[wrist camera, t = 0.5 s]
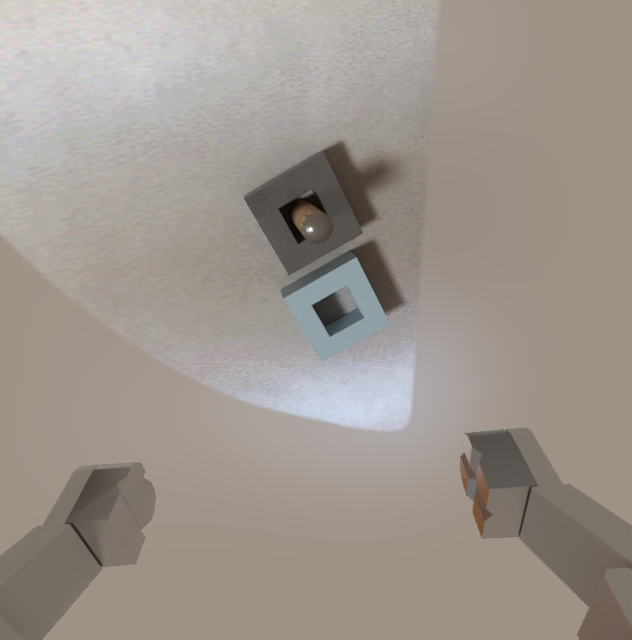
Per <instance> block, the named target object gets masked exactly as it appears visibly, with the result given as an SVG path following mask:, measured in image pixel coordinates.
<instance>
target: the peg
mask: <svg viewBox="0 0 632 640" xmlns="http://www.w3.org/2000/svg"><path fill="white" fill-rule="evenodd" d="M290 217H291V219H292V221H293V222H294V224H295V225H296V226H297V228H298V229H299V230H300V232H301V233H302V234H303V236H304V237H305V238H306V239H307V240H308V241H309V242H311V243H314V244H320V243H323V242H325V241H326V240H328V239H329V237H330V236H331V234H332V231H333V224H332V221H331V219H330V218H329V217H328V216H327V215H326V214H324V213H323V212H322V211H320V210H319V209H318V208H316V207H315V206H314V205H312V204H311V203H309V202H308V201H305V200H300V201H297V202H295V203H294V204H293V205H292V207H291V209H290Z"/></svg>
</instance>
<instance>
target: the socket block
mask: <svg viewBox="0 0 632 640" xmlns="http://www.w3.org/2000/svg"><path fill="white" fill-rule="evenodd" d="M311 189H312V191H313V193H314V195H315V196H316V198H317V200H318V202H319V204H320V206H321V208H322V210H323V212H324V214H326V215H327V216H328V217H329V218H330V219H331V221H332V224H333V231H332V234H331V236H330V237H329V239H328V240H326V241H325V242H323V243H320V244H314V243H311V242H309V241H308V240H307V239H306V238H305V237H304V236H303V235H302V236H300V237H298V238H297V239H295V238H294V236H293V234H292V233H291V231H290V229H289V227H288V225H287V224H286V222H285V220H284V218H283V217H282V215H281V213H280V211H279V209H278V208H280V207H282V206H283V205H285V204H287V203H289V202H290V201H292V200H294V199H296V198H297V197H299V196H301V195H302V194H304V193H306V192H308V191H309V190H311ZM244 199H245V201H246V203H247V204H248V206H249V208H250V209H251V211H252V213H253V215H254V216H255V218H256V220H257V221H258V223H259V225H260V227H261V228H262V230H263V232H264V233H265V235H266V237H267V238H268V240H269V242H270V244H271V245H272V247H273V249H274V250H275V252H276V254H277V255H278V257H279V259H280V261H281V262H282V264H283V266H284V267H285V269H286V271H287V272H288V274H289V275H291V274H292V273H294V272H296V271H298V270H299V269H301V268H303V267H305V266H306V265H308V264H310V263H312V262H313V261H315V260H317V259H319V258H320V257H322V256H324V255H326V254H327V253H329V252H331V251H333V250H334V249H336V248H338V247H340V246H341V245H343V244H345V243H347V242H348V241H350V240H352V239H354V238H356V237H357V236H359V235H361V234H363V232H362V230H361V228H360V226H359V224H358V222H357V219H356V217H355V215H354V213H353V211H352V209H351V207H350V205H349V203H348V201H347V199H346V197H345V195H344V192H343V190H342V188H341V186H340V184H339V182H338V180H337V178H336V176H335V174H334V172H333V170H332V168H331V166H330V163H329V161H328V159H327V157H326V155H325V153H324V152H319V153H317V154H316V155H314V156H312V157H311V158H309V159H307V160H305V161H304V162H302V163H300V164H299V165H297V166H295V167H293V168H292V169H290V170H288V171H287V172H285V173H283V174H281V175H280V176H278V177H276V178H275V179H273V180H271V181H269V182H268V183H266V184H264V185H262V186H261V187H259V188H257V189H256V190H254V191H252V192H250V193H249V194H247V195H245V196H244Z"/></svg>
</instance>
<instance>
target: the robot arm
mask: <svg viewBox="0 0 632 640" xmlns="http://www.w3.org/2000/svg"><path fill="white" fill-rule="evenodd" d="M462 447H463V449H464V453H463V454H462V455H461V456H460V471H461V478H462V482H463V486H464V489H465V492H466V495H467V496H468V497H469V498H470V499H472V500H473V501H474V504H473V515H474V518H475V520H476V523H477V526H478V529H479V531H480V534H481V537H482V538H505V537H520V538H519V539H520V540H521V541H522V542H523V543H524V544H525V545H526V546H527V547H528V548H529V549H530V550H531V551H532V552H533V553H534V554H535V555H536V556H537V557H538V558H539V559H540V560H541V561H543V562H544V564H546V566H547V567H549V568H550V569H551V570H552V571H553V572H554V573H555V574H556V575H557V576H558V577H559V578H560V579H561V580H562V581H563V582H564V583H565V584H566V585H567V586H568V587H569V588H570V589H571V590H572V591H573V592H574V593H575V594H576V595H577V596H578V597H579V598H580V599H581V600H582V601H583V602H584V603H585V604H586V605H587V606H588V607H589V609H588V611H587V614H586V616H585V618H584V620H583V622H582V625H581V627H580V629H579V631H578V633H577V635H578V637H579V639H580V640H632V525H630V524H629V523H627V522H626V521H624V520H623V519H621V518H620V517H618V516H617V515H615V514H614V513H612V512H610V511H609V510H608V509H606V508H605V507H603V506H602V505H600V504H599V503H597V502H596V501H594V500H593V499H591V498H590V497H588V496H587V495H585V494H584V493H582V492H581V491H579V490H578V489H576V488H575V487H573V486H572V485H570V484H563V483H562V482H561V480H560V478H559V477H558V475H557V473H556V471H555V470H554V468H553V466H552V465H551V463H550V461H549V460H548V458H547V456H546V455H545V453H544V451H543V450H542V448H541V446H540V445H539V443H538V441H537V439H536V438H535V436H534V435H533V433H532V431H531V430H530V429H528V428H516V429H506V430H504V429H502V430H492V431H482V432H472V433H464V434H463V437H462ZM144 474H145V470H144V468H143V466H142V464H141V463H136V462H135V463H118V464H103V465H90V466H80V467H79V468H77V469H76V470H75V471H74V472H73V474H72V476H71V477H70V479H69V481H68V483H67V484H66V486H65V488H64V490H63V491H62V493H61V495H60V496H59V498H58V500H57V501H56V503H55V505H54V507H53V508H52V510H51V512H50V514H49V515H48V517H47V519H46V520H45V522H44V524H43V526H36V527H35V528H34V529H33V530H31V531H30V532H29V533H28V534H26V535H25V536H24V537H23V538H22V539H21V540H19V541H18V542H17V543H15V544H14V545H13V546H12V547H11V548H9V549H8V550H7V551H6V552H4V553H3V554H2V555H1V556H0V640H42V639H43V638H44V637H45V636H46V635H47V633H48V632H49V631H50V630H51V629H52V628H53V626H54V625H55V624H56V623H57V622H58V621H59V619H60V618H61V617H62V616H63V615H64V614H65V612H66V611H67V610H68V609H69V608H70V607H71V605H72V604H73V603H74V602H75V601H76V599H77V598H78V597H79V596H80V595H81V594H82V592H83V591H84V590H85V589H86V588H87V587H88V585H89V584H90V583H91V582H92V581H93V580H94V578H95V577H96V576H97V575H98V573H99V572H100V571H101V570H102V568H101V567H110V566H119V565H129V564H136V562H137V559H138V556H139V553H140V550H141V548H142V545H143V542H144V539H145V536H144V533H143V530H142V529H143V528H144V527H145V526H146V525H147V524H148V523H149V522H150V521H151V519H152V516H153V513H154V510H155V500H156V496H155V491H154V487H153V485H152V483H151V482H150V481H148V480H146V479H144V478H143V476H144Z"/></svg>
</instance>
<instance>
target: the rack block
mask: <svg viewBox="0 0 632 640" xmlns="http://www.w3.org/2000/svg"><path fill="white" fill-rule="evenodd" d="M345 286H346V287H347V289H348V291H349V293H350V295H351V297H352V299H353V301H354V302H355V304H356V306H357V309H356V310H354V311H352V312H350V313H349V314H347V315H345V316H343V317H341V318H340V319H338V320H336V321H334V322H333V323H331V324H329V325H327V326H324V324H323V323H322V321H321V319H320V317H319V316H318V314H317V312H316V311H315V309H314V307H313V304H314V303H316V302H318V301H320V300H322V299H323V298H325V297H327V296H329V295H330V294H332V293H334V292H336V291H337V290H339V289H341V288H343V287H345ZM281 293H282V296H283V299H284V301H285V302H286V304H287V306H288V307H289V309H290V311H291V312H292V314H293V315H294V317H295V319H296V320H297V322H298V324H299V325H300V327H301V329H302V330H303V332H304V334H305V335H306V337H307V338H308V340H309V342H310V343H311V345H312V347H313V348H314V350H315V352H316V353H317V355H318V356H319V358H320V360H321V361H324V360H326V359H328V358H330V357H331V356H333V355H335V354H337V353H338V352H340V351H342V350H344V349H346V348H347V347H349V346H351V345H353V344H355V343H356V342H358V341H360V340H362V339H364V338H365V337H367V336H369V335H371V334H373V333H374V332H376V331H378V330H380V329H381V328H383V327H385V326H387V325H389V324H390V323H389V321H388V319H387V317H386V315H385V313H384V311H383V309H382V307H381V305H380V303H379V301H378V299H377V297H376V295H375V293H374V291H373V289H372V287H371V285H370V283H369V281H368V279H367V277H366V275H365V273H364V271H363V269H362V267H361V265H360V263H359V261H358V259H357V257H356V256H355V255H354V254H353V253H352V252H350V251H348V252H347V253H345V254H343V255H341V256H340V257H338V258H336V259H334V260H333V261H331V262H329V263H327V264H326V265H324V266H322V267H320V268H318V269H317V270H315V271H313V272H311V273H310V274H308V275H306V276H304V277H303V278H301V279H299V280H297V281H296V282H294V283H292V284H290V285H289V286H287V287H285V288H283V289H282V290H281Z"/></svg>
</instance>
